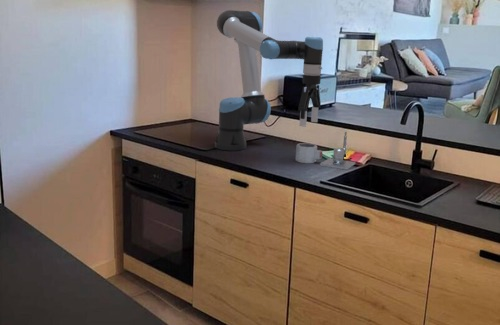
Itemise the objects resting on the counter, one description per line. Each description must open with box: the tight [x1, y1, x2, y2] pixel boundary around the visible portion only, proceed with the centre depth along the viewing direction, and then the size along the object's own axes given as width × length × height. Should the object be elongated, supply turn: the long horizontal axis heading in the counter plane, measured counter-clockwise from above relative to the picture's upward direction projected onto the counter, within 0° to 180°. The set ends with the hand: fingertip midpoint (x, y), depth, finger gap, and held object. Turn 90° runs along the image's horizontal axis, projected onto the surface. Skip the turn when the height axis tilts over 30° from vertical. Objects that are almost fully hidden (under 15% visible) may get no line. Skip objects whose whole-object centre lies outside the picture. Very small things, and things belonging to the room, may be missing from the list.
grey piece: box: [295, 142, 323, 164], centre depth 229 cm, size 11×8×7 cm
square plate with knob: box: [319, 147, 356, 170], centre depth 225 cm, size 12×12×7 cm
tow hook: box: [342, 130, 348, 157], centre depth 238 cm, size 8×13×9 cm
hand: (308, 124), depth 226 cm, fingers open, 13 cm apart
